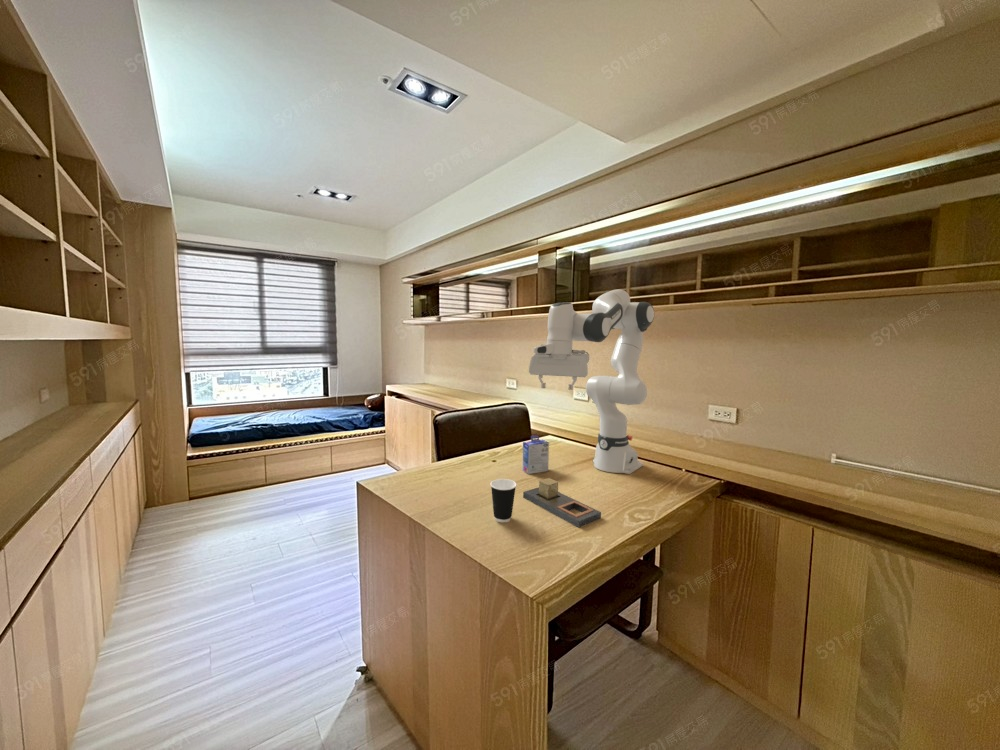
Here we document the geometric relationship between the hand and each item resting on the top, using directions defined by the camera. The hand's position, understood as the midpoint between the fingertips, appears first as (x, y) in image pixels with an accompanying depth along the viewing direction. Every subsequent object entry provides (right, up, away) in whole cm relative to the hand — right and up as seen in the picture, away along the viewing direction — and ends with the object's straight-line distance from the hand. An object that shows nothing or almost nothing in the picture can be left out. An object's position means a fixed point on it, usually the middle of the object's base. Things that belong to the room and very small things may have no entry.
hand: (556, 388), depth 132 cm
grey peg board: (0, -38, -9) cm, 39 cm away
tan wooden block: (-4, -38, -5) cm, 38 cm away
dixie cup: (-19, -39, -17) cm, 47 cm away
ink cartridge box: (-5, -35, +24) cm, 43 cm away
